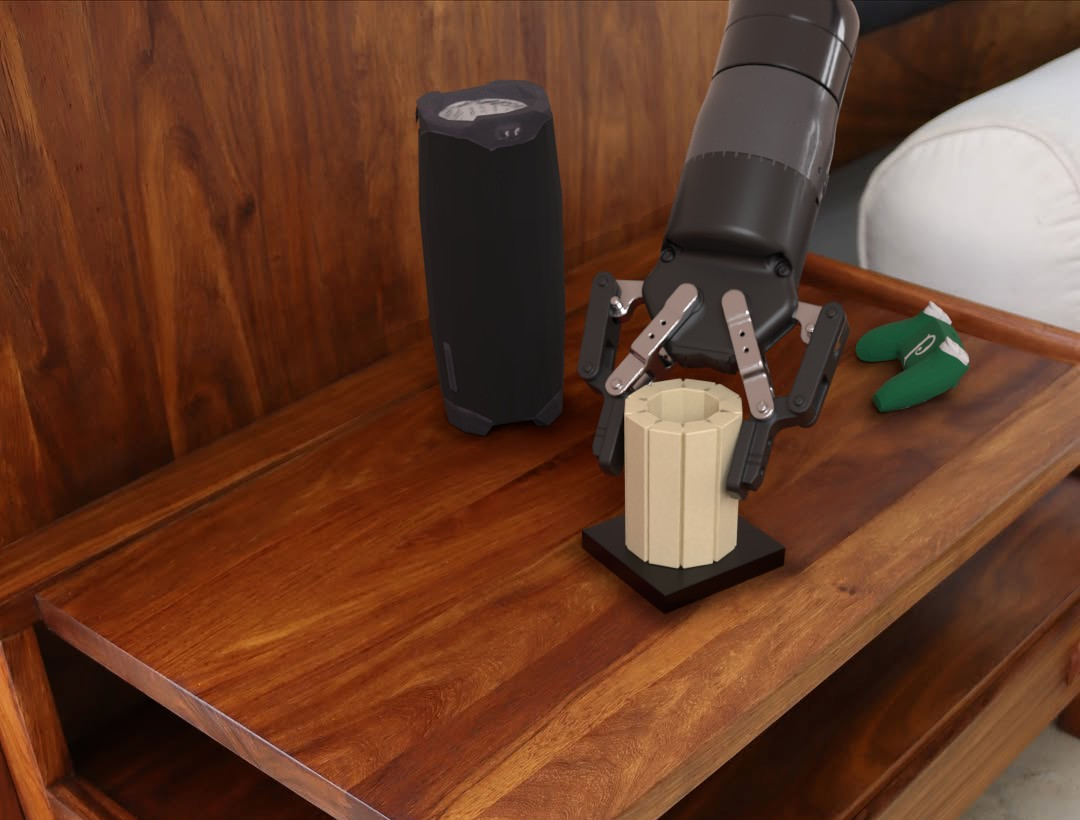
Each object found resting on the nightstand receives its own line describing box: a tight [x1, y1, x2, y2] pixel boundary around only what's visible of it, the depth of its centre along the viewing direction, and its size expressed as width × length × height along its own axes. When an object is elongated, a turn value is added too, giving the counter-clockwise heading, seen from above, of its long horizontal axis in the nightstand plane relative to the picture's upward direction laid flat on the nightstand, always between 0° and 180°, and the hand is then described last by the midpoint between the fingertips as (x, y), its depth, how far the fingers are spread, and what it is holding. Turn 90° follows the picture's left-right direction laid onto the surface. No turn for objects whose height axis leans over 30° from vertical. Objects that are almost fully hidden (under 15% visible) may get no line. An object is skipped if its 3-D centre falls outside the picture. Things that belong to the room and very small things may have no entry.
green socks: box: [855, 300, 970, 413], centre depth 94 cm, size 9×4×6 cm
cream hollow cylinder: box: [624, 378, 743, 568], centre depth 77 cm, size 6×6×8 cm
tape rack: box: [581, 513, 786, 615], centre depth 78 cm, size 8×8×7 cm
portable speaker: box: [414, 79, 566, 437], centre depth 89 cm, size 9×9×20 cm
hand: (671, 483), depth 76 cm, fingers open, 6 cm apart
